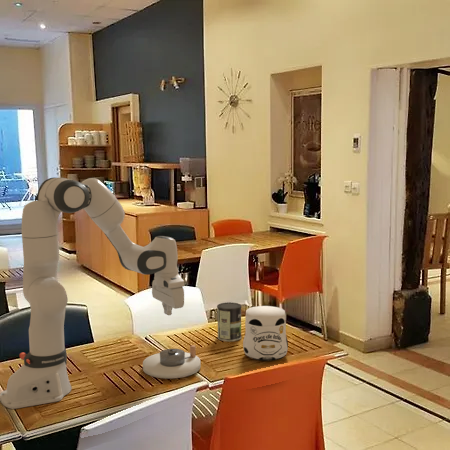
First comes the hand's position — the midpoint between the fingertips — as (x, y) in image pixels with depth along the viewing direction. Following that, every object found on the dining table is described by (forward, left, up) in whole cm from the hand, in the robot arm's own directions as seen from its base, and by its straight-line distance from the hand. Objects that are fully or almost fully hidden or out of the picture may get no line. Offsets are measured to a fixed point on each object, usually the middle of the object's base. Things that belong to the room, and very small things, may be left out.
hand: (167, 314), depth 217 cm
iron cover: (-3, -9, -15) cm, 18 cm away
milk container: (+33, -18, -18) cm, 41 cm away
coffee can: (+34, +8, -18) cm, 39 cm away
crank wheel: (-3, -9, -18) cm, 20 cm away
